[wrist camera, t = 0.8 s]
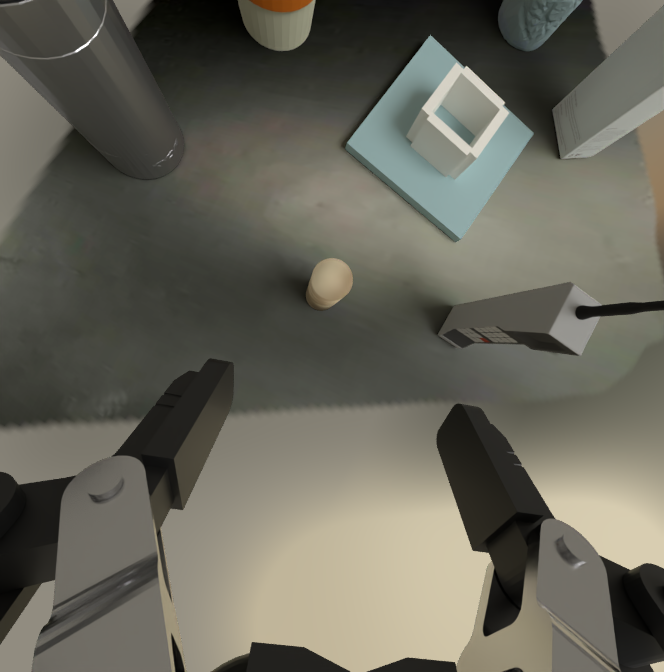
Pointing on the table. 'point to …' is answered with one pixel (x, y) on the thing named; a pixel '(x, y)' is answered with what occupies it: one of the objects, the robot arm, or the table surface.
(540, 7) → the blue embossed cup
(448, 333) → the vintage mobile phone
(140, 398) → the table surface
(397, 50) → the table surface
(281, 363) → the table surface
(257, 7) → the reusable coffee cup
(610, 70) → the skincare box
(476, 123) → the sleeve holder
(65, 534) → the robot arm
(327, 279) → the maple peg
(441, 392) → the table surface
